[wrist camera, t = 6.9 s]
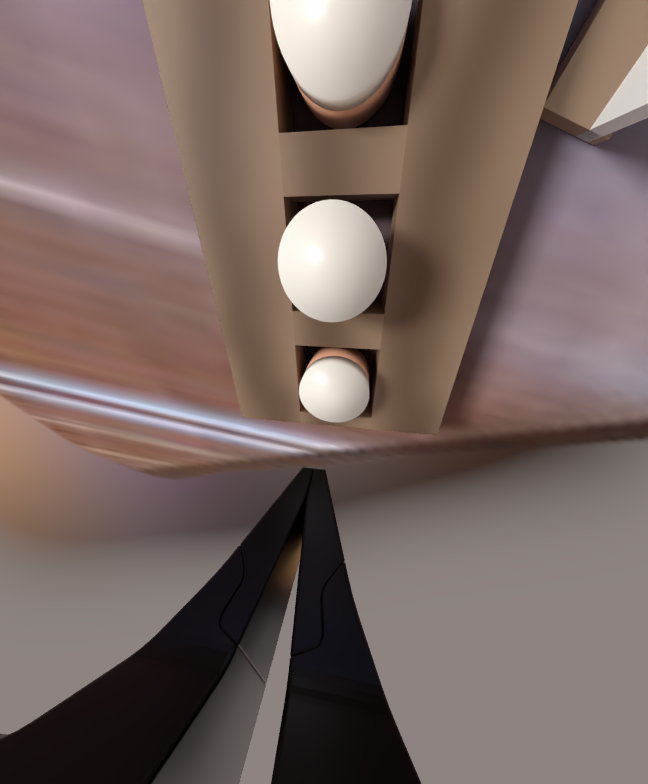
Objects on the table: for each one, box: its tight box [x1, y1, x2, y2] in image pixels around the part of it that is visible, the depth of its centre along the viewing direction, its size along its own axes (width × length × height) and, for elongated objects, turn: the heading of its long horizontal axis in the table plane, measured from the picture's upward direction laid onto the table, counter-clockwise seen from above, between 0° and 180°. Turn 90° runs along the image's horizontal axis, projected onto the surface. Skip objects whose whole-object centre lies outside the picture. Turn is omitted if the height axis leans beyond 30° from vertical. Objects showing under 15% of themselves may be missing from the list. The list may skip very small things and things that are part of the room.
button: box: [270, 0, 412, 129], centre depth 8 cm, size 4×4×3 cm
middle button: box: [278, 199, 387, 322], centre depth 11 cm, size 4×4×3 cm
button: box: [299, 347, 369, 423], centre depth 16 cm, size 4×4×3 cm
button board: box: [142, 0, 578, 435], centre depth 13 cm, size 14×21×2 cm, turn 0°
